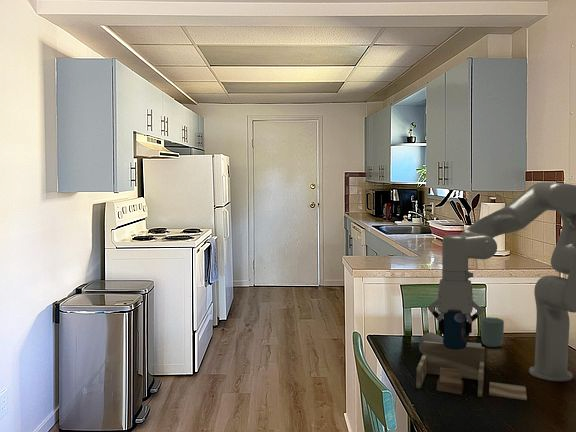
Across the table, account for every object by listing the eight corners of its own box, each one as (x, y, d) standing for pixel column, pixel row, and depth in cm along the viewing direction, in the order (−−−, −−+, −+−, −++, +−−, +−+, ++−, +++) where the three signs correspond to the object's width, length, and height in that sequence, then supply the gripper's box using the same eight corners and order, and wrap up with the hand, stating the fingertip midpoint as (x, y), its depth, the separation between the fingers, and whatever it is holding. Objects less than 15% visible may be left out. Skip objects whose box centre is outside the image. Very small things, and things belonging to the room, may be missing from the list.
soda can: (468, 351, 173) (468, 311, 172) (444, 350, 174) (444, 311, 173) (465, 344, 179) (465, 306, 179) (441, 344, 181) (442, 305, 180)
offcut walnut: (438, 387, 173) (439, 377, 173) (463, 390, 170) (463, 380, 170) (436, 391, 169) (436, 381, 169) (461, 395, 167) (461, 384, 166)
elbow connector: (417, 365, 189) (482, 371, 184) (418, 332, 190) (482, 337, 186) (418, 361, 206) (477, 366, 201) (419, 331, 207) (478, 335, 203)
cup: (476, 344, 219) (477, 317, 219) (493, 342, 222) (494, 316, 221) (489, 349, 212) (490, 322, 211) (507, 348, 214) (508, 321, 214)
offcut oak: (439, 377, 173) (440, 367, 172) (461, 379, 171) (461, 369, 171) (439, 381, 169) (440, 371, 169) (461, 384, 167) (461, 373, 167)
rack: (422, 371, 186) (423, 340, 185) (483, 379, 180) (484, 347, 179) (416, 388, 171) (417, 354, 170) (482, 396, 165) (483, 362, 164)
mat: (489, 383, 176) (489, 381, 176) (525, 388, 172) (525, 386, 172) (489, 395, 166) (489, 393, 166) (526, 400, 163) (526, 398, 163)
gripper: (485, 275, 176) (485, 333, 177) (427, 272, 182) (427, 329, 183) (485, 279, 169) (484, 339, 170) (424, 276, 175) (424, 335, 176)
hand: (454, 333), depth 176 cm, fingers closed on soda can, 7 cm apart
